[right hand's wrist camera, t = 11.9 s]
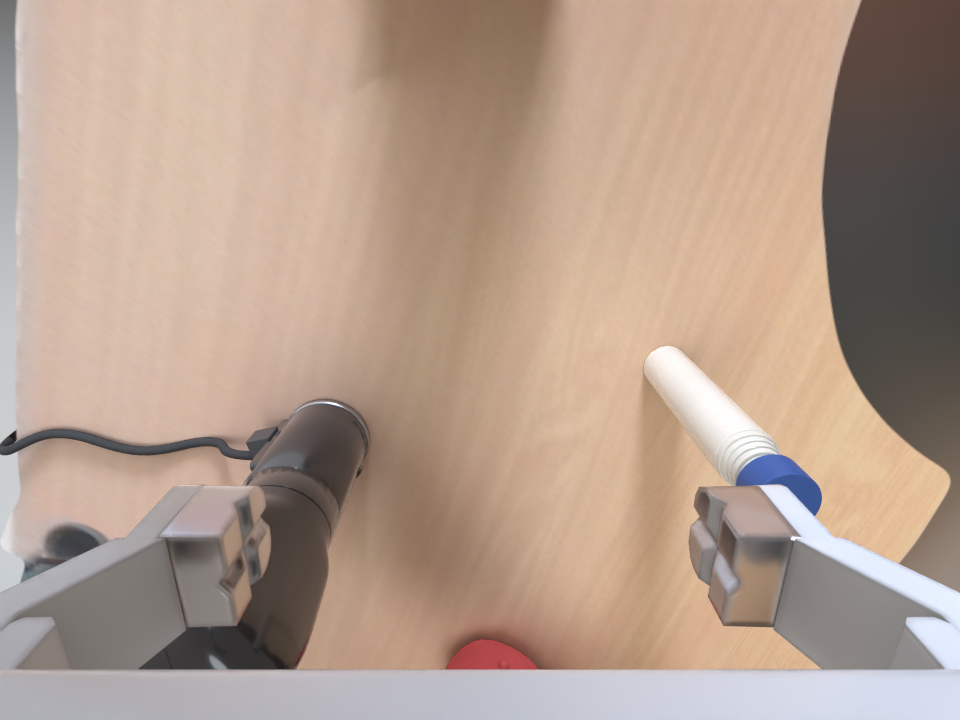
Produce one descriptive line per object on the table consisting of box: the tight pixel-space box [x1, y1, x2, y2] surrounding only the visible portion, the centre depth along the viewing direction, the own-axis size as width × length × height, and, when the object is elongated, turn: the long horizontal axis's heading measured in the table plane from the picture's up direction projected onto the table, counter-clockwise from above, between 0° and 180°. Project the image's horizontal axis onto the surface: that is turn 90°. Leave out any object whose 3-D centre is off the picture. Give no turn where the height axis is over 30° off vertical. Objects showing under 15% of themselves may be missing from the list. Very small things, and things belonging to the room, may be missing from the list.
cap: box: [736, 454, 822, 516], centre depth 38 cm, size 4×4×3 cm
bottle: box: [644, 346, 782, 486], centre depth 49 cm, size 5×5×25 cm
